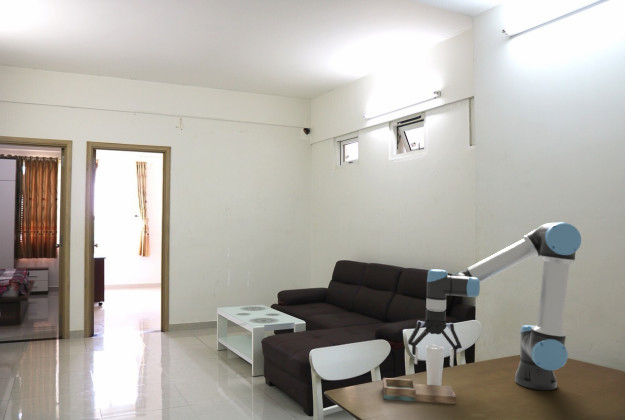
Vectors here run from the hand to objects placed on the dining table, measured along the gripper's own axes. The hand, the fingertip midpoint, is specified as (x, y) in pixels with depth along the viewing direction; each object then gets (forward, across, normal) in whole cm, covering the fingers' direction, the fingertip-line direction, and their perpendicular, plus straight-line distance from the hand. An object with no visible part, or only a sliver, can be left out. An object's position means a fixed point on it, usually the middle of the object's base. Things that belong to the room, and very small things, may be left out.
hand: (433, 364), depth 189 cm
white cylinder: (+8, 0, 0) cm, 8 cm away
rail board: (+8, +6, +12) cm, 16 cm away
